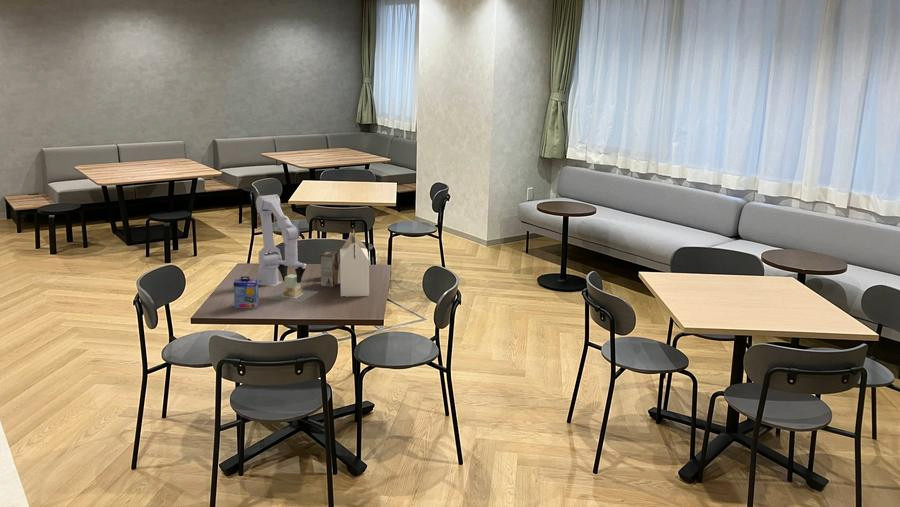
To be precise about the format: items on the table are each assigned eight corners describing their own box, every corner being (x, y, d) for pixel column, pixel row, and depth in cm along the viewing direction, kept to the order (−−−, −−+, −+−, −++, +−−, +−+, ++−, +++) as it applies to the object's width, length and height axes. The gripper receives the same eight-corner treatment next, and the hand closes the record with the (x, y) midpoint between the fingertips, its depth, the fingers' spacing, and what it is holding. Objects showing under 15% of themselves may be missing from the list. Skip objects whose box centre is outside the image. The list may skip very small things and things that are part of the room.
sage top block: (284, 287, 344) (284, 276, 343) (291, 284, 348) (290, 274, 347) (294, 288, 342) (293, 278, 341) (300, 285, 346) (299, 275, 345)
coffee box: (327, 281, 370) (326, 250, 366) (339, 282, 369) (339, 251, 365) (320, 286, 361) (320, 254, 357) (333, 287, 360) (332, 255, 356)
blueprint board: (265, 299, 340) (265, 297, 340) (285, 288, 357) (285, 287, 357) (300, 304, 335) (300, 302, 335) (318, 292, 352) (318, 291, 352)
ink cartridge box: (234, 308, 327) (232, 277, 323) (236, 304, 332) (235, 273, 328) (257, 308, 328) (255, 277, 324) (259, 304, 333) (257, 273, 329)
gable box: (340, 283, 368) (339, 228, 361) (367, 282, 370) (367, 227, 363) (340, 296, 347) (339, 238, 340) (369, 296, 349) (368, 238, 342)
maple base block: (283, 295, 344) (283, 287, 343) (289, 292, 350) (289, 284, 349) (295, 297, 342) (294, 289, 341) (301, 293, 348) (301, 285, 347)
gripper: (309, 252, 342) (310, 281, 345) (282, 249, 347) (283, 277, 351) (301, 256, 336) (301, 285, 339) (273, 252, 341) (274, 281, 344)
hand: (292, 281), depth 344 cm, fingers open, 7 cm apart
